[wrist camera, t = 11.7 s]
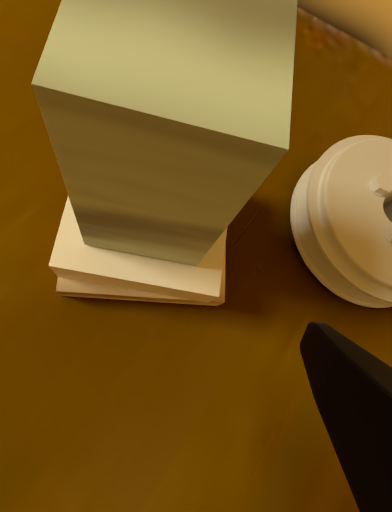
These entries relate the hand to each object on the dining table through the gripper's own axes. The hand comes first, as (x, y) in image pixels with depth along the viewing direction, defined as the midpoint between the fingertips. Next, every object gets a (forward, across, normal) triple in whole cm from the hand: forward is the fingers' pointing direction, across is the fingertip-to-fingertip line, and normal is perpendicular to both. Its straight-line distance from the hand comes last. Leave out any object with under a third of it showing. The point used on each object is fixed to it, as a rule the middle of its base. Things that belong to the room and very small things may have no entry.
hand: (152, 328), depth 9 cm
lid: (+16, -17, +3) cm, 24 cm away
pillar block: (+11, 0, +1) cm, 11 cm away
